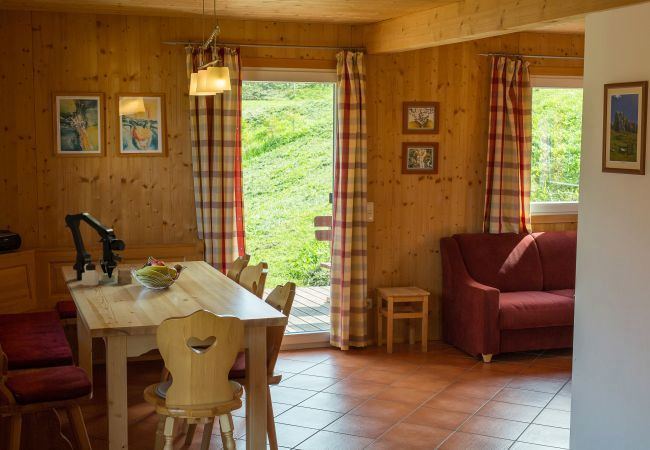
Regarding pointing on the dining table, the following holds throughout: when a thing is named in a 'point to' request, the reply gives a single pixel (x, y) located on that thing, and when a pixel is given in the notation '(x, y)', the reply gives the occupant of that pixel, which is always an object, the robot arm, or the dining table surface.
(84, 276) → the medicine bottle
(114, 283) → the mat
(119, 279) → the tower base
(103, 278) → the sage block
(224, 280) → the dining table surface
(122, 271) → the tower top
